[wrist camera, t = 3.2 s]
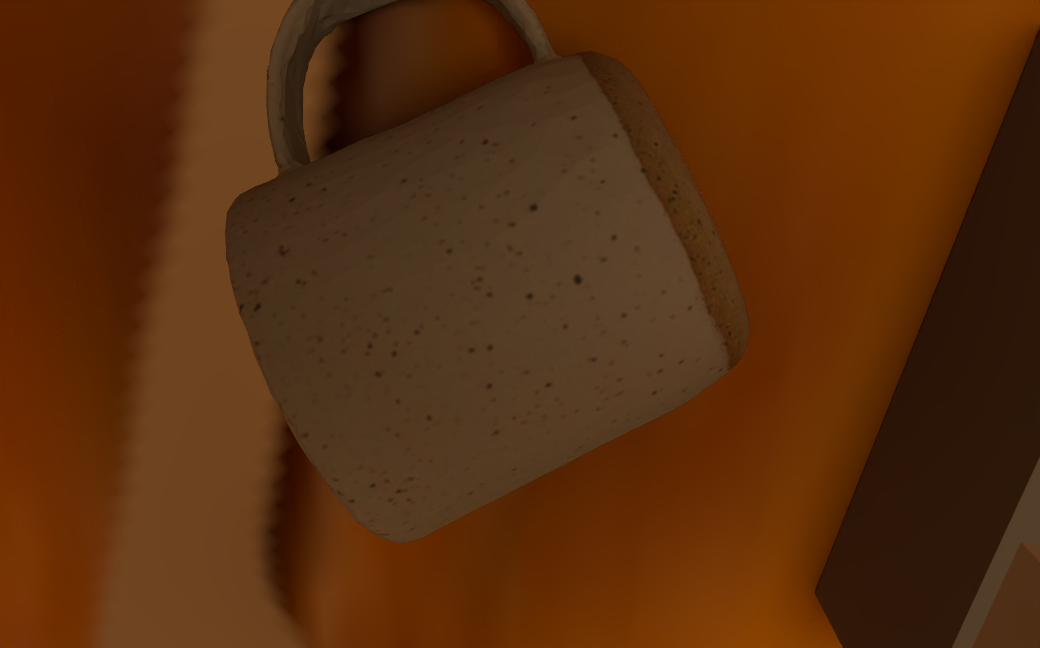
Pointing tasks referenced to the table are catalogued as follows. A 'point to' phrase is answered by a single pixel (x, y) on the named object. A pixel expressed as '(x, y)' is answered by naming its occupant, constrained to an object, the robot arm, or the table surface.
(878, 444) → the slate block
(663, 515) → the table surface
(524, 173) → the ceramic mug
